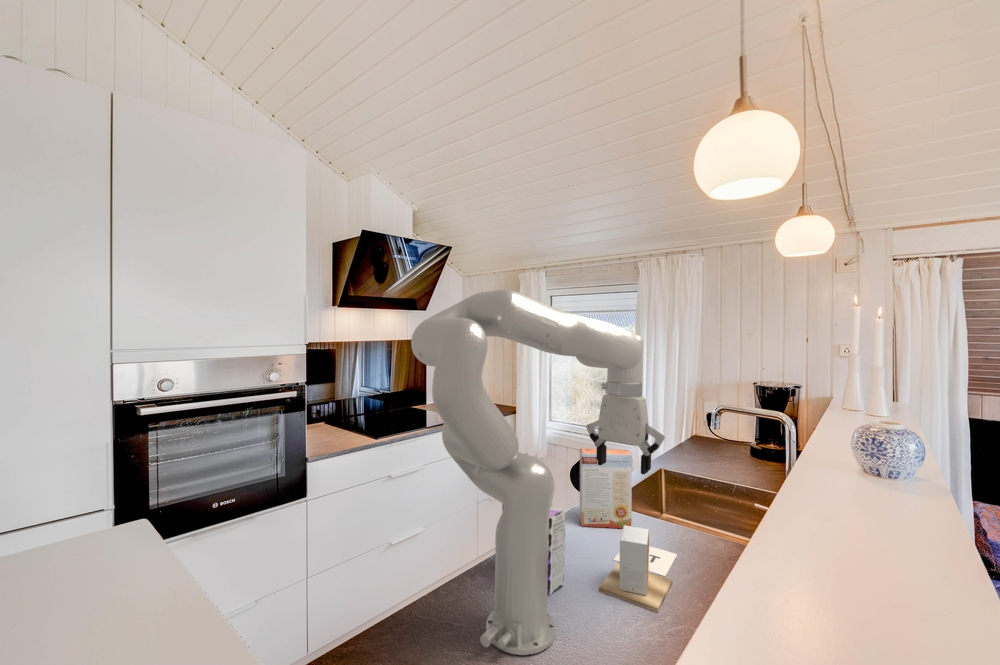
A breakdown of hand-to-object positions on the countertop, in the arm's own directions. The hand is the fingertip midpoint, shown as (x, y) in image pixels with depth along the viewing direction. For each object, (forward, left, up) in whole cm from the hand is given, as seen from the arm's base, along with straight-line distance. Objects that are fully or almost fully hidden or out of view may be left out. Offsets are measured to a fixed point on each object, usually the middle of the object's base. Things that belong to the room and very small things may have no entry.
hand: (622, 468), depth 94 cm
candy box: (-10, +17, -25) cm, 32 cm away
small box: (0, -3, -24) cm, 24 cm away
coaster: (0, -3, -25) cm, 25 cm away
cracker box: (+26, +14, -25) cm, 38 cm away
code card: (+14, -1, -25) cm, 28 cm away
